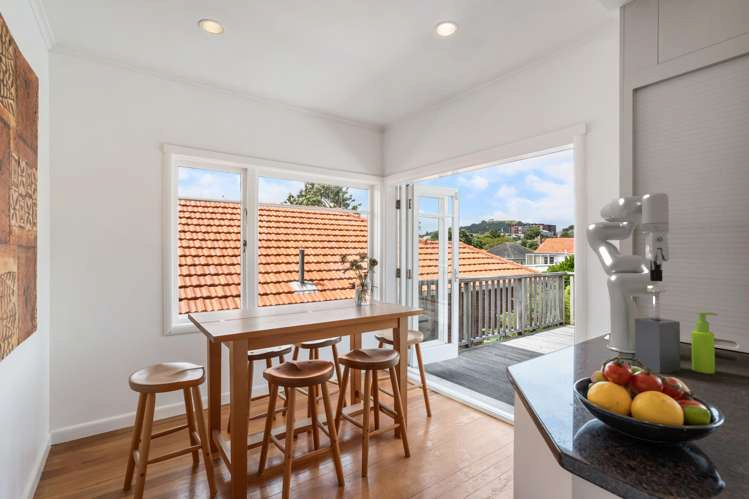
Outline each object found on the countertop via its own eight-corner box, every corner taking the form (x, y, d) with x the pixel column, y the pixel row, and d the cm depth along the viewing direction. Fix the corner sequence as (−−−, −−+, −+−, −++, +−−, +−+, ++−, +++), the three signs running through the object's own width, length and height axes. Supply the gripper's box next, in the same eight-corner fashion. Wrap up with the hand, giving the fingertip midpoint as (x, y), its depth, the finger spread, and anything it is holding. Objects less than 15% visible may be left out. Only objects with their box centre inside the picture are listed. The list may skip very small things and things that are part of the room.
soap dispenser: (722, 374, 124) (721, 313, 124) (698, 373, 126) (697, 313, 125) (710, 368, 130) (709, 310, 130) (688, 367, 131) (687, 310, 131)
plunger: (641, 338, 134) (640, 285, 134) (655, 337, 135) (654, 284, 135) (658, 343, 128) (657, 287, 128) (673, 341, 129) (672, 286, 129)
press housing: (635, 365, 135) (634, 318, 135) (655, 362, 137) (654, 317, 137) (659, 373, 126) (659, 323, 126) (680, 370, 128) (679, 321, 128)
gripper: (675, 227, 123) (676, 283, 123) (662, 229, 137) (663, 279, 137) (647, 228, 126) (648, 282, 126) (637, 230, 140) (638, 279, 140)
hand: (656, 281), depth 131 cm, fingers closed
